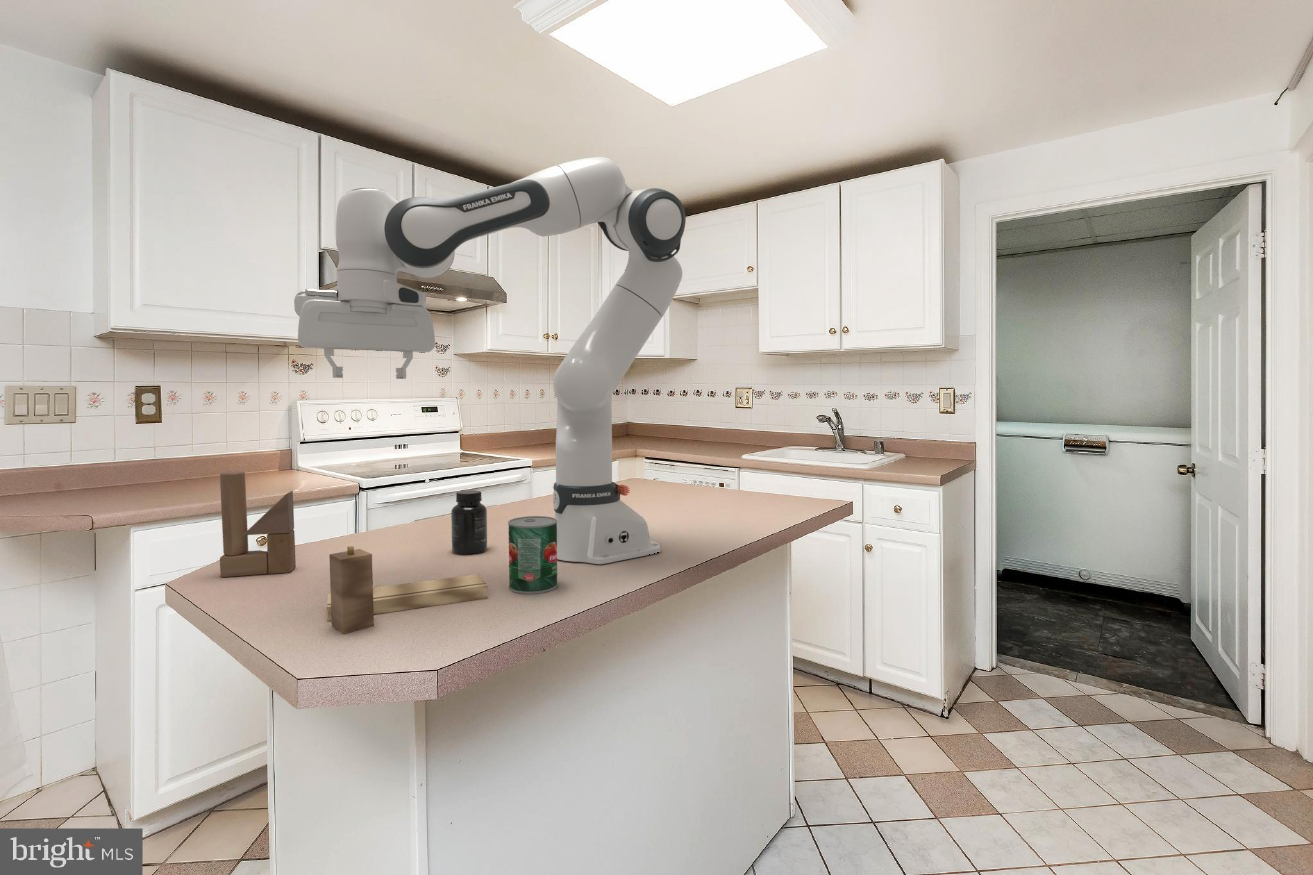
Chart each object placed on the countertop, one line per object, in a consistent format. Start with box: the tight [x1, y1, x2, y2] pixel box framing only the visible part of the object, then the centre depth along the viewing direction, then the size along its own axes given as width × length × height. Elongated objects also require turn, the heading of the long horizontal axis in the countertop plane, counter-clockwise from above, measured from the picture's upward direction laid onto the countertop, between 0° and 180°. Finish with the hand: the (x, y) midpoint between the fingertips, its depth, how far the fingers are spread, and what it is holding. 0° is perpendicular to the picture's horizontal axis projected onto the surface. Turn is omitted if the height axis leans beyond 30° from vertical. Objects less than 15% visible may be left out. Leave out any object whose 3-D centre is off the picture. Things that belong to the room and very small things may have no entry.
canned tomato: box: [507, 515, 559, 595], centre depth 101 cm, size 8×8×11 cm
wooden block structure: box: [219, 470, 297, 578], centre depth 108 cm, size 4×11×18 cm, turn 107°
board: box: [326, 574, 489, 622], centre depth 94 cm, size 22×6×2 cm, turn 117°
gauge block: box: [328, 545, 375, 635], centre depth 84 cm, size 4×4×11 cm
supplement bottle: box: [450, 489, 488, 556], centre depth 124 cm, size 7×7×12 cm
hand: (370, 378), depth 101 cm, fingers open, 8 cm apart
